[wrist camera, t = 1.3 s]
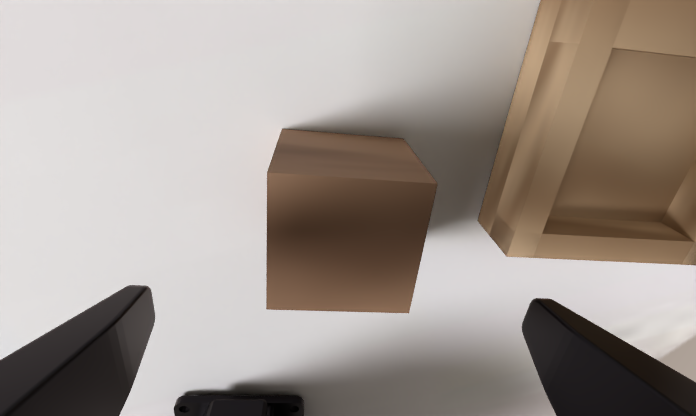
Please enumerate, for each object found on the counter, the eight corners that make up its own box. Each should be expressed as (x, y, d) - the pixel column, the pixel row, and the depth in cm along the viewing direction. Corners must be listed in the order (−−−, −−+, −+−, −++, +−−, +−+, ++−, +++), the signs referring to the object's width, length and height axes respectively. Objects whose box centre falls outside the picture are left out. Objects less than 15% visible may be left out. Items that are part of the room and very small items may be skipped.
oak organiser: (648, 230, 17) (704, 265, 14) (477, 220, 16) (506, 256, 13) (928, -308, 10) (1135, -420, 7) (649, -378, 9) (777, -534, 6)
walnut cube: (385, 240, 16) (409, 313, 12) (279, 235, 15) (266, 309, 11) (402, 138, 14) (437, 183, 10) (282, 128, 13) (267, 172, 9)
